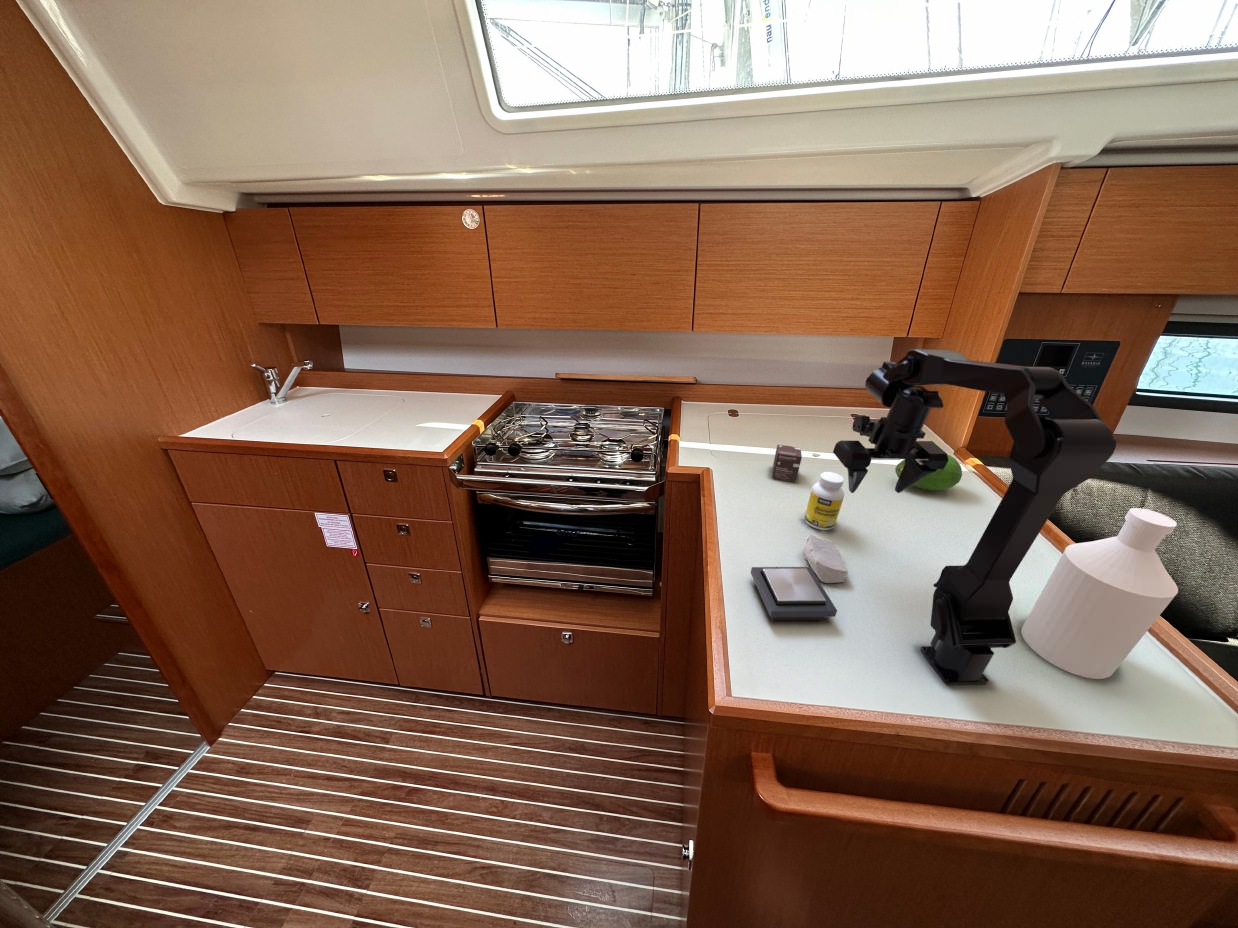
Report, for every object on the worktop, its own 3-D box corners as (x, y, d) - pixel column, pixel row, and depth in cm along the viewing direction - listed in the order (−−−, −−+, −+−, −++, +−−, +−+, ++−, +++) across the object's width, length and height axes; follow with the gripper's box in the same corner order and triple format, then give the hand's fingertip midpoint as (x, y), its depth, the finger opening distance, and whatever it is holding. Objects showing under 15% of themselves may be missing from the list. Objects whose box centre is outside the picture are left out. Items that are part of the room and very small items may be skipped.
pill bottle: (801, 525, 103) (813, 479, 98) (806, 511, 108) (817, 467, 103) (833, 534, 100) (847, 487, 95) (836, 519, 106) (849, 474, 100)
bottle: (1003, 632, 77) (1076, 503, 66) (1044, 612, 82) (1119, 488, 70) (1090, 691, 68) (1193, 552, 56) (1132, 665, 72) (1235, 531, 61)
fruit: (899, 495, 117) (912, 459, 112) (883, 476, 125) (894, 442, 121) (962, 500, 116) (978, 464, 111) (942, 480, 124) (955, 446, 120)
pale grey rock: (832, 595, 89) (851, 580, 84) (801, 585, 88) (819, 569, 84) (827, 552, 96) (844, 536, 91) (798, 542, 95) (814, 526, 91)
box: (771, 478, 122) (777, 453, 119) (771, 468, 127) (777, 443, 124) (796, 482, 120) (802, 457, 117) (795, 472, 126) (801, 447, 122)
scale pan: (824, 606, 78) (826, 600, 77) (776, 606, 77) (778, 600, 77) (804, 574, 85) (806, 568, 84) (761, 574, 84) (762, 568, 84)
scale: (832, 624, 78) (837, 610, 76) (768, 624, 77) (771, 611, 76) (806, 579, 87) (810, 566, 86) (748, 579, 87) (751, 566, 85)
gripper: (928, 400, 89) (897, 467, 97) (833, 398, 87) (810, 467, 96) (967, 429, 79) (929, 501, 88) (862, 428, 78) (834, 501, 87)
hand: (874, 491), depth 90 cm, fingers open, 9 cm apart
